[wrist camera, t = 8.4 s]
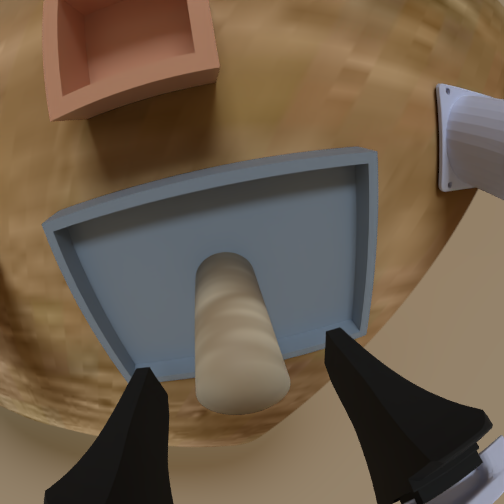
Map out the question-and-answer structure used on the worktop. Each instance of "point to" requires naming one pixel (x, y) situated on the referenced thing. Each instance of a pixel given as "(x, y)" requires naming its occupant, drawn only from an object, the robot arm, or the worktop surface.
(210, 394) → the ash peg
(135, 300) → the slate tray
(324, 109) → the worktop surface
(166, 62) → the salmon open box
